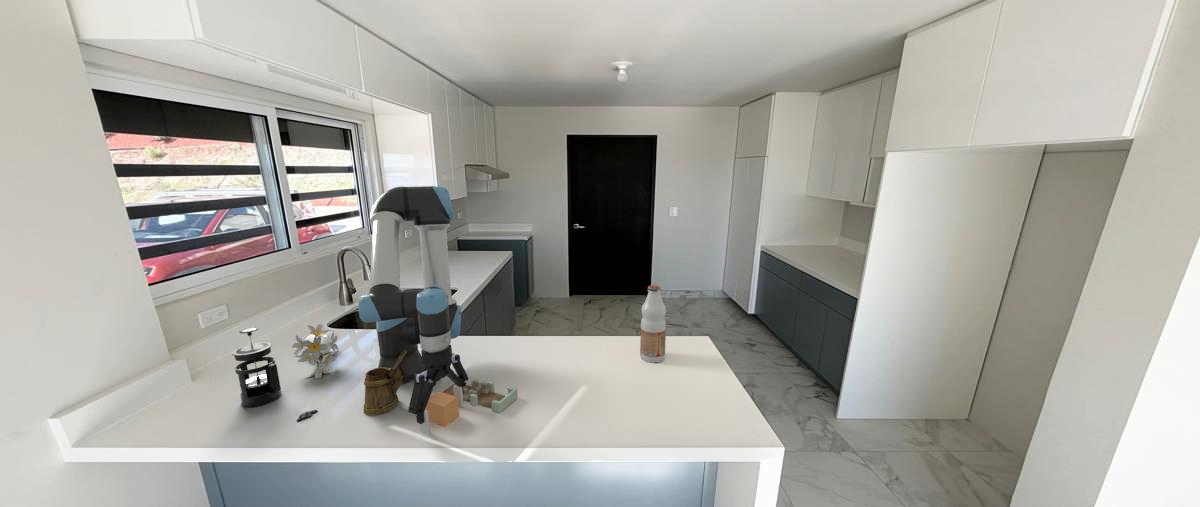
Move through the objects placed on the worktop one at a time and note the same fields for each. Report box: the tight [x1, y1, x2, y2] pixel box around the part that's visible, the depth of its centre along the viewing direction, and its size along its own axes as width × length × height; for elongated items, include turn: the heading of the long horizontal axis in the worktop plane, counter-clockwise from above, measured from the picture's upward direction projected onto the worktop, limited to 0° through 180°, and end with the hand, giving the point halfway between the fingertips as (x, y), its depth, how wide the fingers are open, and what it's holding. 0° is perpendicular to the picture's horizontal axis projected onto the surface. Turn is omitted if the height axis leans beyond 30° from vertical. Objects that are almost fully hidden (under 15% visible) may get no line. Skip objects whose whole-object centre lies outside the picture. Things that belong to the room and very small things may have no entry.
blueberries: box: [295, 409, 319, 423], centre depth 108 cm, size 7×8×2 cm
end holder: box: [469, 380, 519, 414], centre depth 114 cm, size 11×9×3 cm
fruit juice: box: [639, 284, 667, 364], centre depth 141 cm, size 9×9×28 cm
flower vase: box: [291, 324, 340, 379], centre depth 138 cm, size 13×18×25 cm
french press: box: [231, 327, 283, 409], centre depth 114 cm, size 12×9×23 cm
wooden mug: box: [363, 349, 407, 416], centre depth 111 cm, size 9×14×18 cm, turn 94°
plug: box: [420, 391, 460, 428], centre depth 107 cm, size 14×5×7 cm, turn 67°
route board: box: [442, 378, 516, 413], centre depth 116 cm, size 24×7×4 cm, turn 67°
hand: (442, 418), depth 106 cm, fingers open, 12 cm apart
